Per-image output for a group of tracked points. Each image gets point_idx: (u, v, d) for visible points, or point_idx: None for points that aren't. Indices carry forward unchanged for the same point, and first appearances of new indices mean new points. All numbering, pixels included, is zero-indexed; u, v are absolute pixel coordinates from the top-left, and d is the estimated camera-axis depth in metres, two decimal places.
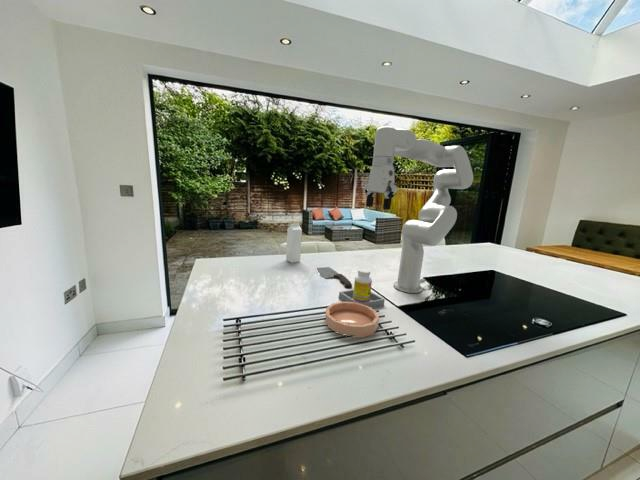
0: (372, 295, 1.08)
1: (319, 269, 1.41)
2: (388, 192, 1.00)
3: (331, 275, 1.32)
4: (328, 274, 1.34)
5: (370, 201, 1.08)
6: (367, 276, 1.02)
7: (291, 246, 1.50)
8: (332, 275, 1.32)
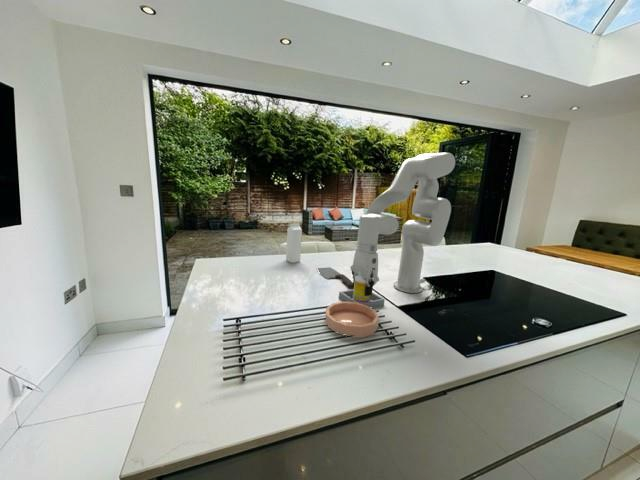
0: (372, 295, 1.08)
1: (320, 269, 1.41)
2: (370, 279, 1.01)
3: (333, 275, 1.32)
4: (330, 274, 1.34)
5: None
6: None
7: (291, 246, 1.50)
8: (334, 275, 1.32)
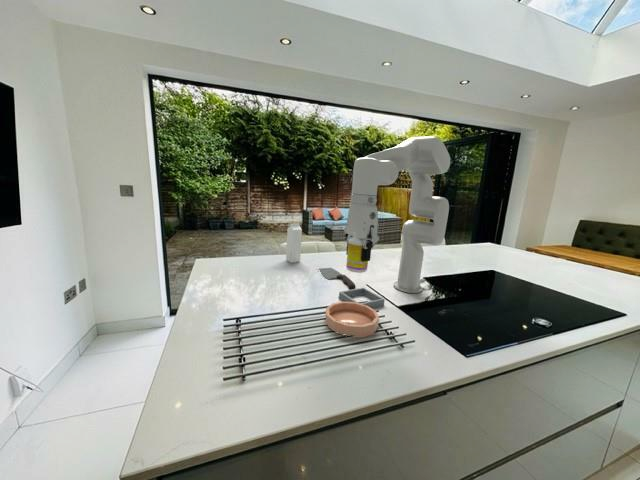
0: (372, 295, 1.08)
1: (322, 270, 1.41)
2: (368, 240, 0.81)
3: (334, 276, 1.31)
4: (331, 274, 1.33)
5: None
6: None
7: (291, 246, 1.50)
8: (335, 276, 1.31)
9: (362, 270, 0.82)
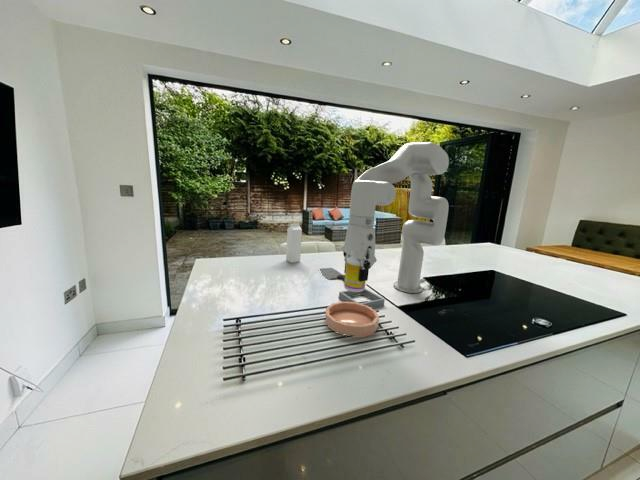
0: (372, 295, 1.08)
1: (322, 270, 1.40)
2: (366, 260, 0.82)
3: (335, 276, 1.31)
4: (332, 274, 1.33)
5: None
6: None
7: (291, 246, 1.50)
8: (336, 276, 1.31)
9: (360, 290, 0.83)
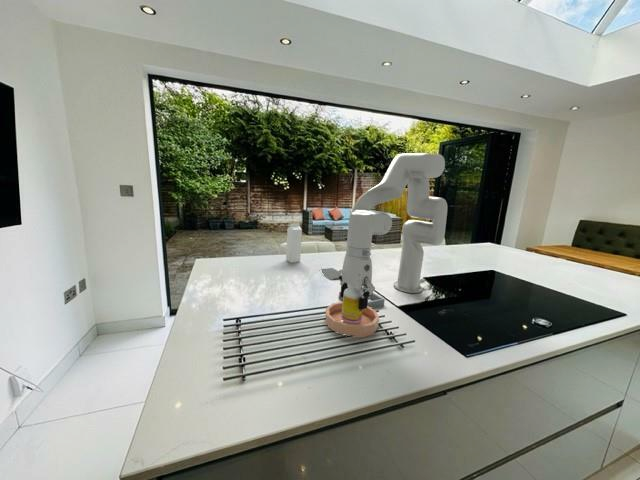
0: (372, 295, 1.08)
1: (323, 270, 1.40)
2: (364, 289, 0.83)
3: (336, 276, 1.31)
4: (333, 275, 1.33)
5: None
6: (358, 290, 0.85)
7: (291, 246, 1.50)
8: (337, 276, 1.31)
9: (356, 321, 0.86)
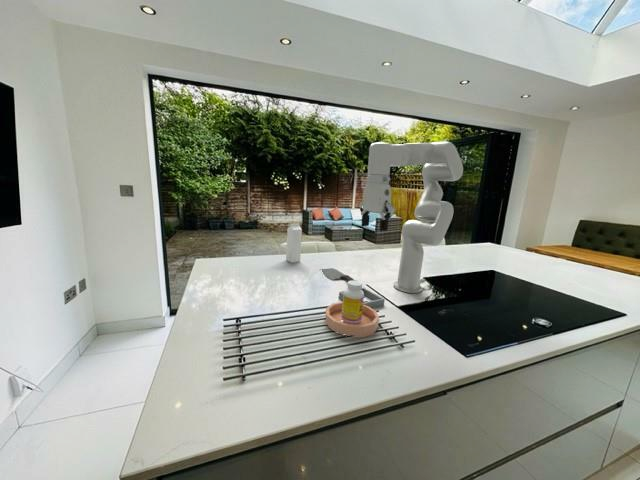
0: (372, 295, 1.08)
1: (324, 270, 1.40)
2: (385, 212, 0.93)
3: (337, 276, 1.31)
4: (334, 275, 1.33)
5: (366, 220, 1.01)
6: (358, 290, 0.85)
7: (291, 246, 1.50)
8: (338, 276, 1.31)
9: (356, 321, 0.86)
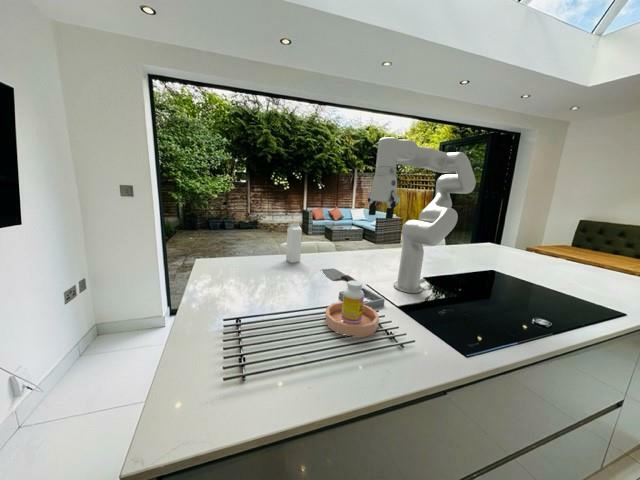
0: (372, 295, 1.08)
1: (325, 270, 1.40)
2: (391, 201, 1.01)
3: (338, 277, 1.31)
4: (335, 275, 1.33)
5: (373, 210, 1.09)
6: (358, 290, 0.85)
7: (291, 246, 1.50)
8: (339, 277, 1.31)
9: (356, 321, 0.86)
